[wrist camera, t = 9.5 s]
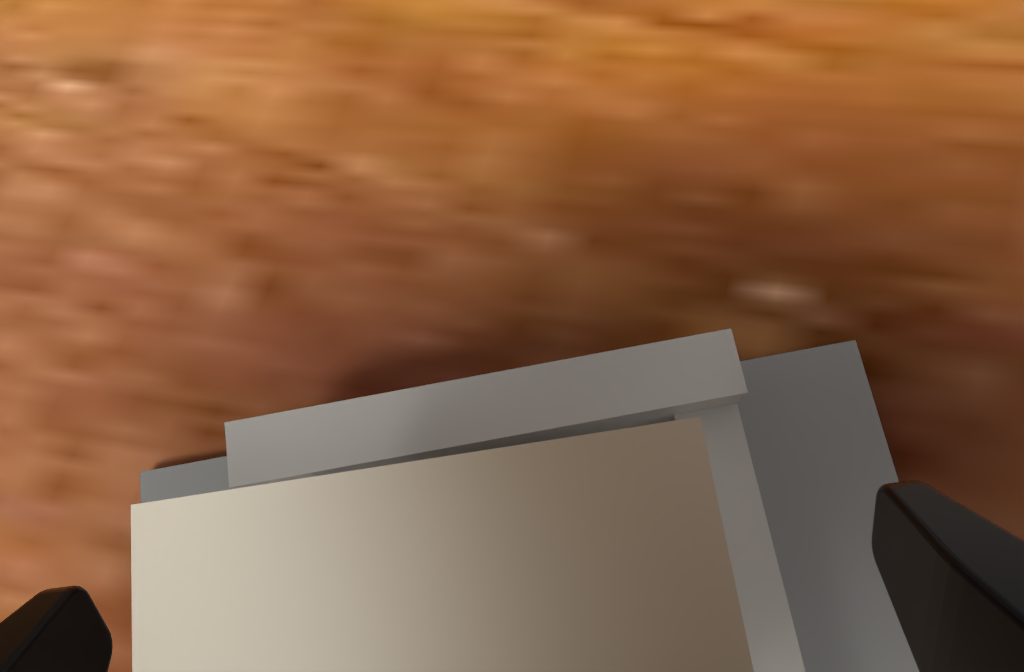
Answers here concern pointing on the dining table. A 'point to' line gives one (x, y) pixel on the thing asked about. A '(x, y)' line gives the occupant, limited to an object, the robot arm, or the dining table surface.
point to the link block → (450, 566)
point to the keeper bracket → (643, 401)
